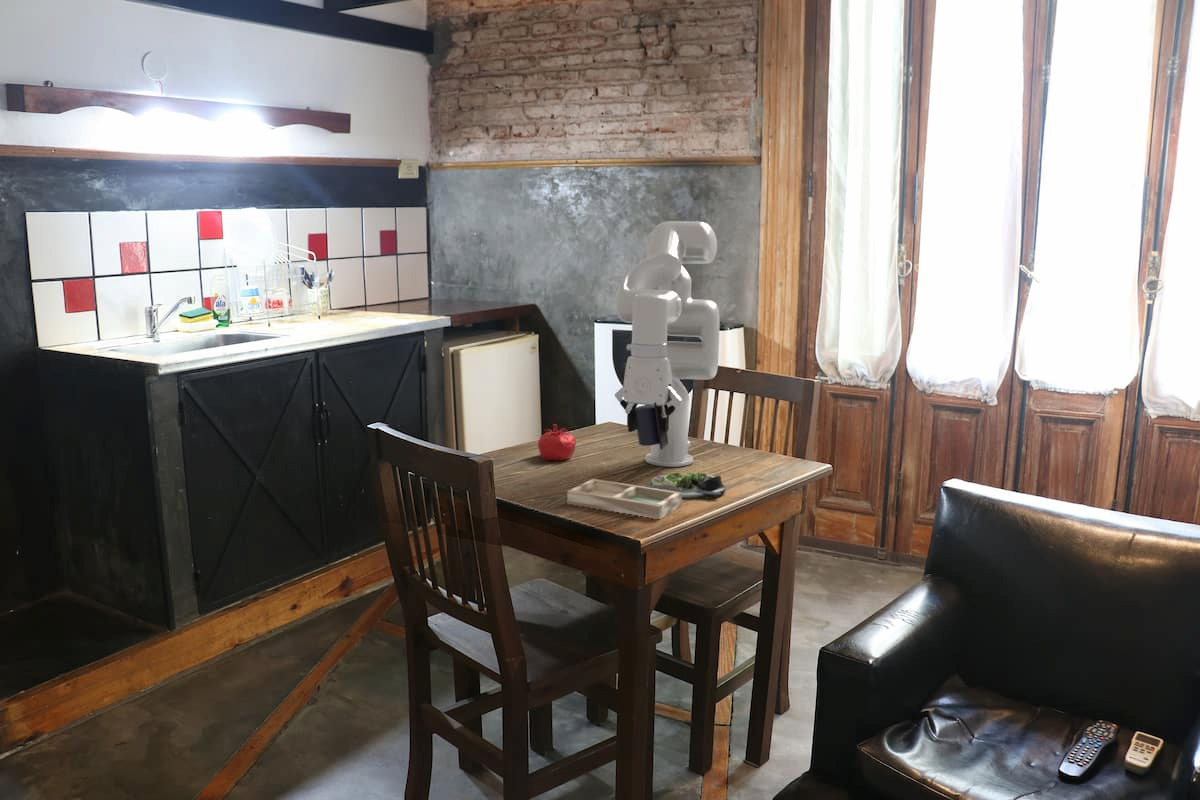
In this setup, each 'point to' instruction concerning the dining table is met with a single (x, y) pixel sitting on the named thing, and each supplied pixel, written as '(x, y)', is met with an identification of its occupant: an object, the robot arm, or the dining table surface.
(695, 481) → the avocado toast plate
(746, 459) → the dining table surface
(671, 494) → the sorting tray
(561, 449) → the pomegranate
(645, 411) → the speaker
